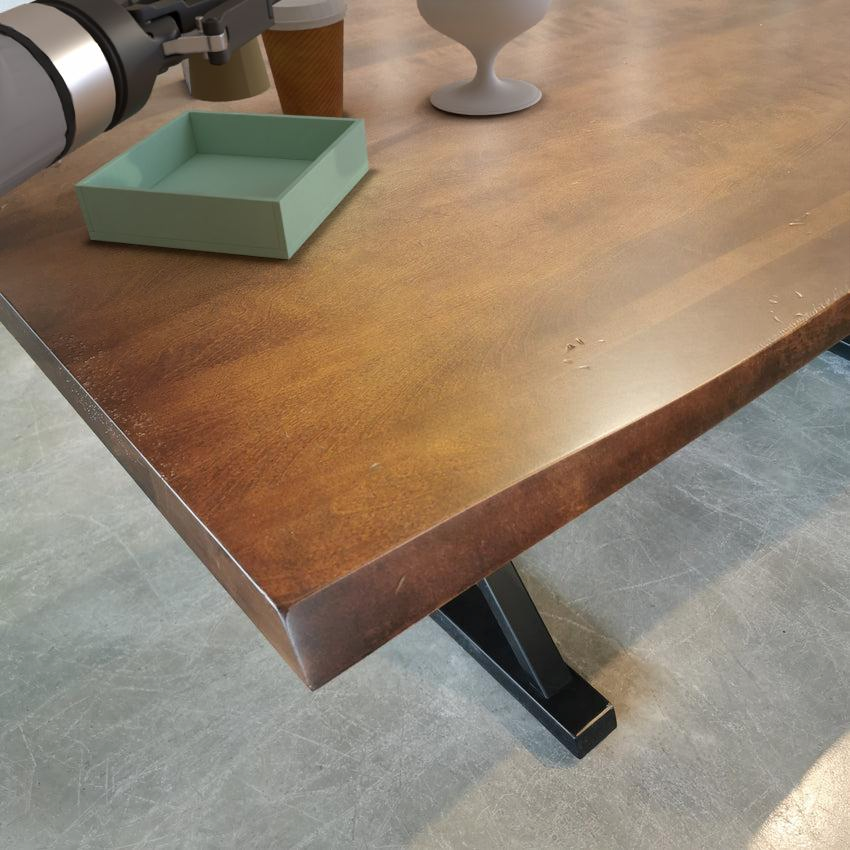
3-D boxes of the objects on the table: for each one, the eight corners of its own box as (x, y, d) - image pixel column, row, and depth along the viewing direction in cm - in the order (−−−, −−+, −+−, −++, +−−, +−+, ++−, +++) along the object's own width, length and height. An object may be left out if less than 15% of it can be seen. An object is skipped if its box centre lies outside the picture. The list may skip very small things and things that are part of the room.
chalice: (397, 98, 98) (387, -53, 89) (499, 72, 104) (499, -73, 95) (469, 132, 89) (466, -33, 80) (577, 101, 94) (585, -57, 85)
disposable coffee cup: (370, 122, 93) (358, -2, 85) (281, 139, 90) (262, 13, 83) (342, 97, 100) (330, -20, 92) (260, 112, 97) (240, -7, 90)
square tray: (90, 240, 74) (73, 185, 71) (196, 158, 87) (186, 109, 84) (288, 260, 69) (279, 202, 66) (369, 170, 82) (364, 118, 80)
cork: (185, 84, 69) (151, -77, 62) (261, 72, 70) (236, -86, 63) (197, 107, 64) (162, -64, 57) (278, 93, 66) (253, -75, 59)
